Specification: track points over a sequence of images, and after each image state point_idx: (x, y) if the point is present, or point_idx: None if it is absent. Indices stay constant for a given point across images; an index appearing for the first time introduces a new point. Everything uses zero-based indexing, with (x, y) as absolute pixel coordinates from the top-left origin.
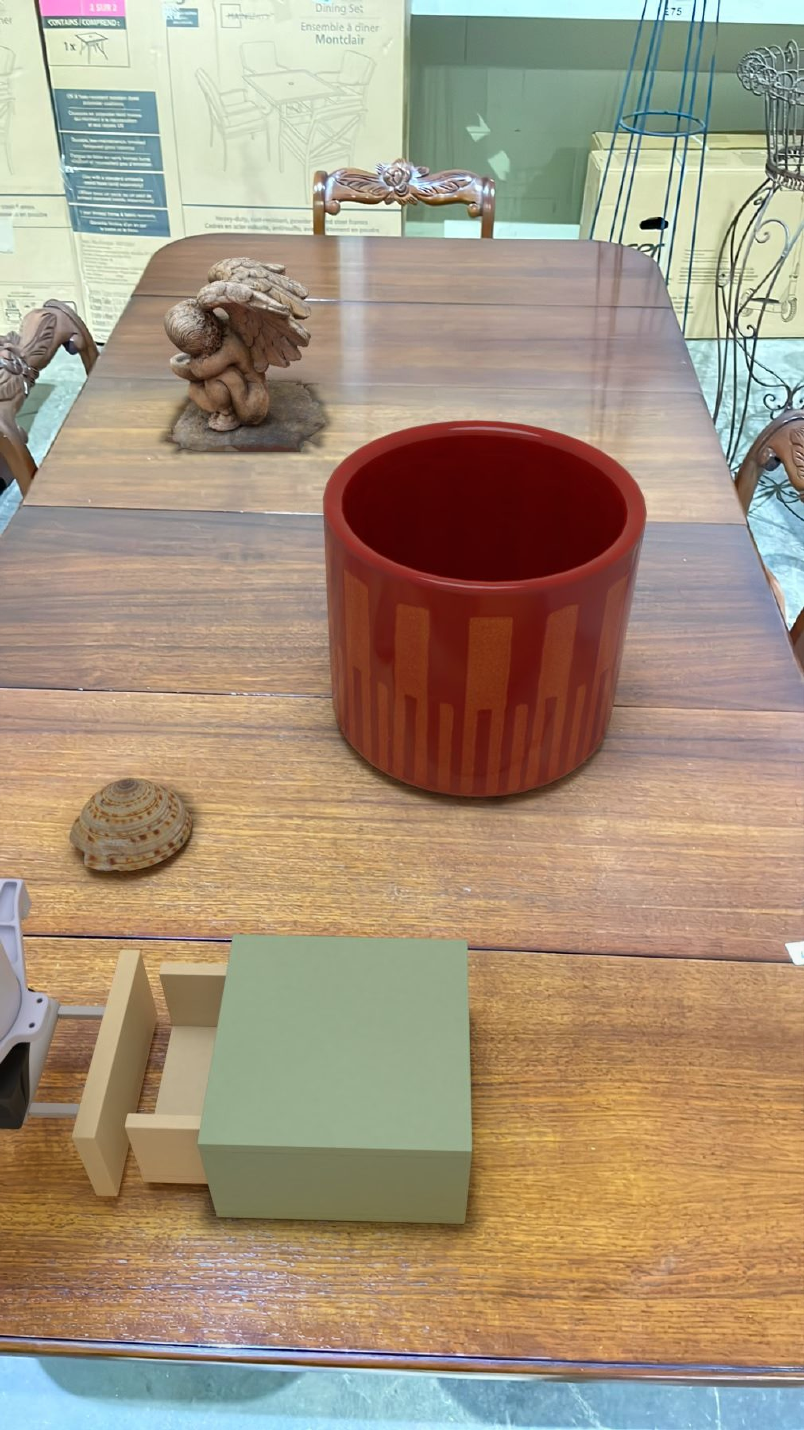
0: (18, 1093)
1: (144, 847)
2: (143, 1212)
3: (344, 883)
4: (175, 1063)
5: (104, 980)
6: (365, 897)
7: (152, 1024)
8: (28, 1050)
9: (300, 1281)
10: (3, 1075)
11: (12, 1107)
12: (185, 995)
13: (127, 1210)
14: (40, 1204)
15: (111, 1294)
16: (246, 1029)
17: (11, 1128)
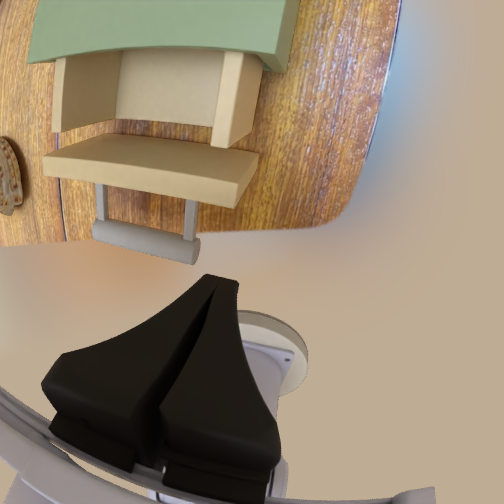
0: (216, 329)
1: (5, 166)
2: (271, 132)
3: None
4: (147, 110)
5: None
6: None
7: (113, 135)
8: (147, 329)
9: (347, 19)
10: (232, 452)
11: (239, 337)
12: (85, 105)
13: (267, 145)
14: (252, 211)
15: (332, 159)
16: (123, 14)
17: (237, 292)
